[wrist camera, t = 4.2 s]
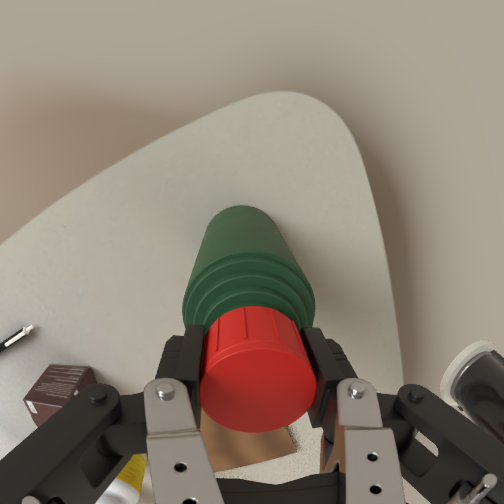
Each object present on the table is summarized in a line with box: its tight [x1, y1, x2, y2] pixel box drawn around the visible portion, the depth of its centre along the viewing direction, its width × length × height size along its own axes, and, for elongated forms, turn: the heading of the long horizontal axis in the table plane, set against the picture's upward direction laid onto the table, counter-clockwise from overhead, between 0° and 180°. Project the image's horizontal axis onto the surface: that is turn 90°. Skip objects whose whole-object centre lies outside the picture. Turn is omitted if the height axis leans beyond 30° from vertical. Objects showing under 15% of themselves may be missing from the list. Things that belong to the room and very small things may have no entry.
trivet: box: [198, 408, 297, 472], centre depth 33 cm, size 14×12×1 cm
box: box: [23, 364, 97, 427], centre depth 27 cm, size 6×6×7 cm
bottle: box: [182, 206, 315, 336], centre depth 19 cm, size 6×6×18 cm
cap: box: [200, 306, 317, 433], centre depth 11 cm, size 4×4×3 cm
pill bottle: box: [95, 453, 148, 504], centre depth 28 cm, size 6×6×12 cm
